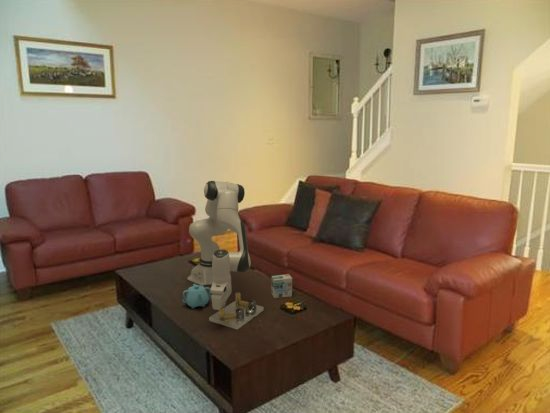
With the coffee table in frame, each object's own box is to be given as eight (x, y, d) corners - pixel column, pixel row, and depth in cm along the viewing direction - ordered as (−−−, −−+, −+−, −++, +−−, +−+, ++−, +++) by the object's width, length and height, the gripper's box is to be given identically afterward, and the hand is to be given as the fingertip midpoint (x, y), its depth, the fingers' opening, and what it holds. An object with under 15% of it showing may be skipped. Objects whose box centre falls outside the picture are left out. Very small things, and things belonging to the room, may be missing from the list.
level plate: (209, 321, 205) (208, 314, 205) (236, 303, 225) (236, 297, 224) (238, 329, 197) (238, 322, 196) (264, 310, 216) (264, 304, 215)
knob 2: (233, 304, 219) (233, 294, 217) (238, 301, 222) (238, 291, 221) (253, 309, 212) (253, 299, 211) (257, 306, 216) (257, 296, 215)
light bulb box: (274, 298, 230) (274, 280, 228) (271, 293, 237) (270, 275, 235) (292, 296, 233) (292, 278, 231) (289, 291, 240) (289, 273, 237)
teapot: (196, 298, 232) (194, 279, 230) (217, 303, 225) (215, 283, 223) (180, 308, 221) (178, 288, 219) (202, 312, 214) (200, 292, 212)
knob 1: (219, 320, 201) (219, 309, 200) (218, 316, 205) (218, 306, 204) (244, 316, 205) (244, 306, 203) (243, 313, 208) (242, 303, 207)
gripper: (222, 275, 213) (223, 300, 216) (208, 291, 193) (210, 318, 196) (234, 275, 212) (234, 301, 215) (222, 292, 192) (223, 320, 195)
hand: (223, 309), depth 206 cm, fingers closed
